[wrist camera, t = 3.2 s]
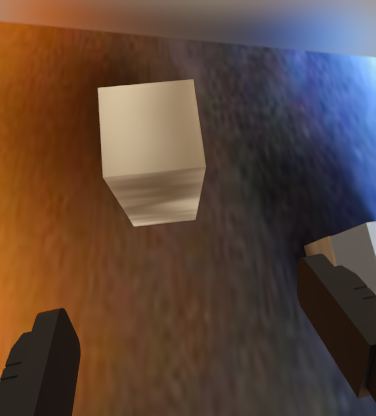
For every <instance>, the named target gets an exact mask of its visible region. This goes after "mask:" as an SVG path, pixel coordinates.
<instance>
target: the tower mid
mask: <svg viewBox="0 0 376 416" xmlns="http://www.w3.org/2000/svg"><path fill="white" fill-rule="evenodd" d="M330 239H331V243H332V247H333V251H334V255H335V259H336V263H337V266H339V265H342V266H344V267H345V268H347V269H349V270H351V271H352V272H354V273H356V274H357V275H358V276H359V277H360V278H361V279H362V281H363V282H364V283H365V284H366V285H367V287H368V288H370V289H371V290H372V291H373V292H374V293H375V295H376V221H375V222H367V223H364V224H361V225H359V226H356V227H354V228H351V229H349V230H346V231H344V232H341V233H339V234H336V235H334V236H331V237H330Z"/></svg>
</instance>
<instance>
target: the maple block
mask: <svg viewBox="0 0 376 416" xmlns="http://www.w3.org/2000/svg"><path fill="white" fill-rule="evenodd" d="M98 99H99V116H100V134H101V152H102V169H103V178H104V180H105V181H106V183H107V185H108V186H109V188H110V189H111V191H112V192H113V194H114V196H115V197H116V199H117V200H118V202H119V203H120V205H121V207H122V208H123V210H124V211H125V213H126V214H127V216H128V218H129V219H130V221H131V222H132V224H133V225H134V226H143V225H152V224H161V223H170V222H178V221H187V220H195V219H196V214H197V209H198V204H199V199H200V194H201V189H202V184H203V179H204V174H205V169H206V164H205V157H204V150H203V143H202V137H201V130H200V123H199V116H198V109H197V103H196V96H195V89H194V82H193V79H192V80H181V81H170V82H159V83H147V84H136V85H125V86H114V87H102V88H98Z"/></svg>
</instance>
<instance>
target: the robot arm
mask: <svg viewBox="0 0 376 416" xmlns="http://www.w3.org/2000/svg"><path fill="white" fill-rule="evenodd" d="M297 296H298V300H299V303H300V305H301V307H302V309H303V311H304V312H305V314H306V315H307V317H308V319H309V320H310V322H311V323H312V325H313V327H314V328H315V330H316V331H317V333H318V335H319V336H320V338H321V340H322V341H323V343H324V344H325V346H326V348H327V349H328V351H329V352H330V354H331V356H332V357H333V359H334V360H335V362H336V364H337V365H338V367H339V369H340V370H341V372H342V373H343V375H344V377H345V378H346V380H347V381H348V383H349V385H350V386H351V388H352V389H353V391H354V393H355V394H356V396H357V397H358V398H362V397H366V396H370V395H371V396H372V397H373V399H374V400H375V402H376V295H375V293H374V292H373V291H372V290H371V289H370V288H368V287H367V285H366V284H365V283H364V282H363V281H362V279H361V278H360V277H359V276H358V275H357V274H356V273H354V272H352V271H351V270H349V269H347V268H345V267H344V266H342V265H339V266H335V267H334V265H333V264H332V263H331V262H330V261H329V260H328V258H327V257H326V256H325V255H324V254H316V255H312V256H307V257H302V258H300V259H299V261H298V277H297ZM79 363H80V343H79V339H78V337H77V334H76V332H75V330H74V328H73V326H72V323H71V321H70V319H69V317H68V315H67V312H66V311H65V309H64V308H60V309H55V310H50V311H46V312H41V313H38V315H37V316H36V319H35V322H34V325H33V328H32V332H27V333H23V334H22V335H21V337H20V338H19V339H18V341H17V342H16V343H15V345H14V346H13V347H12V349H11V351H10V354H9V356H8V359H7V362H6V365H5V366H6V368H5V369H4V370H3V373H2V376H1V378H0V380H1V381H0V416H72V411H73V404H74V397H75V390H76V383H77V376H78V369H79Z"/></svg>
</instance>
